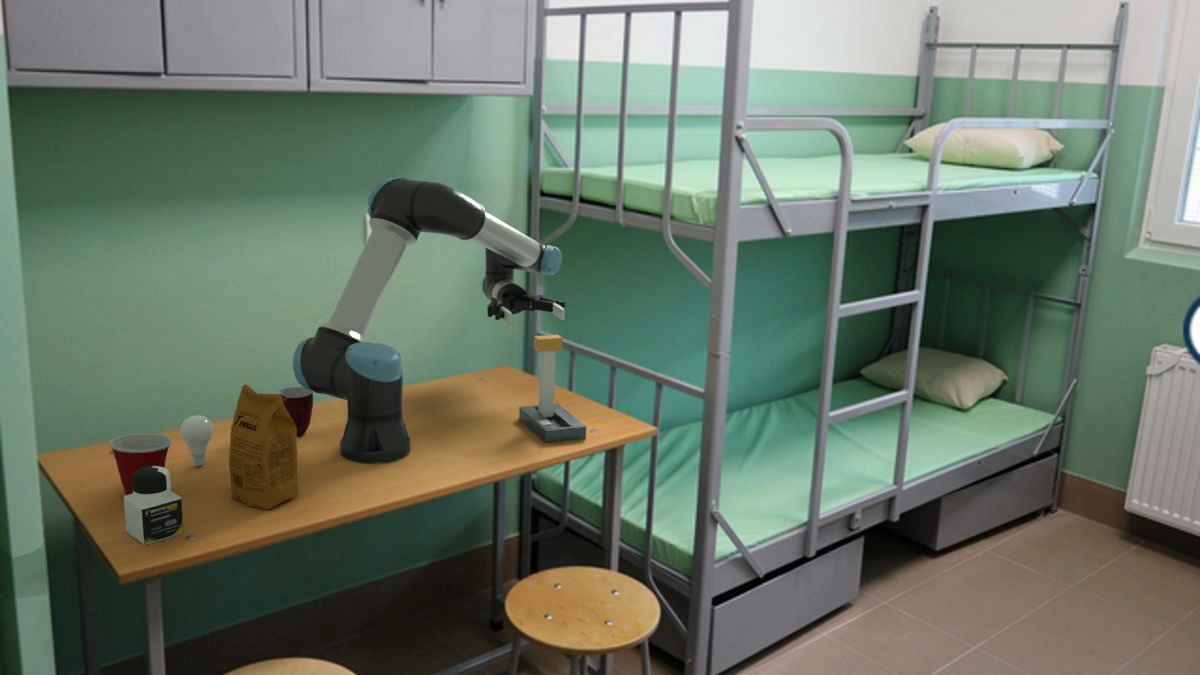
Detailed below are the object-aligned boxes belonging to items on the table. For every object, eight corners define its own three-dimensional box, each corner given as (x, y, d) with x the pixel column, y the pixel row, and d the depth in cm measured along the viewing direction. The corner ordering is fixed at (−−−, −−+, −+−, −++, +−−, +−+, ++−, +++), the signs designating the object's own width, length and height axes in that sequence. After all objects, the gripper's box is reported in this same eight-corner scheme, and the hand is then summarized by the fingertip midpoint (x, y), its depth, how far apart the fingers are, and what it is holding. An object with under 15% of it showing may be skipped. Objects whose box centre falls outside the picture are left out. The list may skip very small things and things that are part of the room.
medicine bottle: (144, 546, 175) (139, 481, 172) (125, 533, 180) (120, 469, 177) (184, 534, 180) (180, 470, 177) (165, 521, 185) (161, 459, 182)
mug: (326, 438, 229) (325, 396, 227) (293, 446, 224) (291, 403, 221) (303, 426, 237) (302, 385, 234) (270, 433, 231) (269, 391, 229)
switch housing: (519, 418, 248) (519, 406, 247) (557, 414, 252) (557, 402, 252) (545, 443, 232) (546, 430, 232) (585, 438, 236) (586, 425, 236)
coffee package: (264, 482, 204) (260, 377, 199) (306, 498, 198) (302, 389, 192) (221, 497, 196) (216, 388, 191) (263, 514, 190) (258, 402, 184)
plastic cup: (186, 499, 194) (182, 440, 192) (129, 515, 187) (124, 454, 184) (159, 483, 201) (155, 425, 198) (103, 498, 194) (98, 438, 191)
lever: (531, 414, 246) (534, 336, 241) (555, 412, 248) (557, 334, 243) (536, 418, 243) (538, 339, 238) (559, 416, 245) (562, 337, 240)
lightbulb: (182, 462, 212) (178, 412, 209) (214, 459, 215) (211, 409, 212) (183, 473, 207) (179, 422, 204) (216, 470, 209) (213, 419, 206)
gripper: (555, 308, 271) (584, 327, 252) (463, 314, 262) (487, 335, 243) (555, 280, 269) (585, 298, 250) (463, 285, 260) (487, 304, 241)
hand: (537, 316), depth 247 cm, fingers open, 13 cm apart
